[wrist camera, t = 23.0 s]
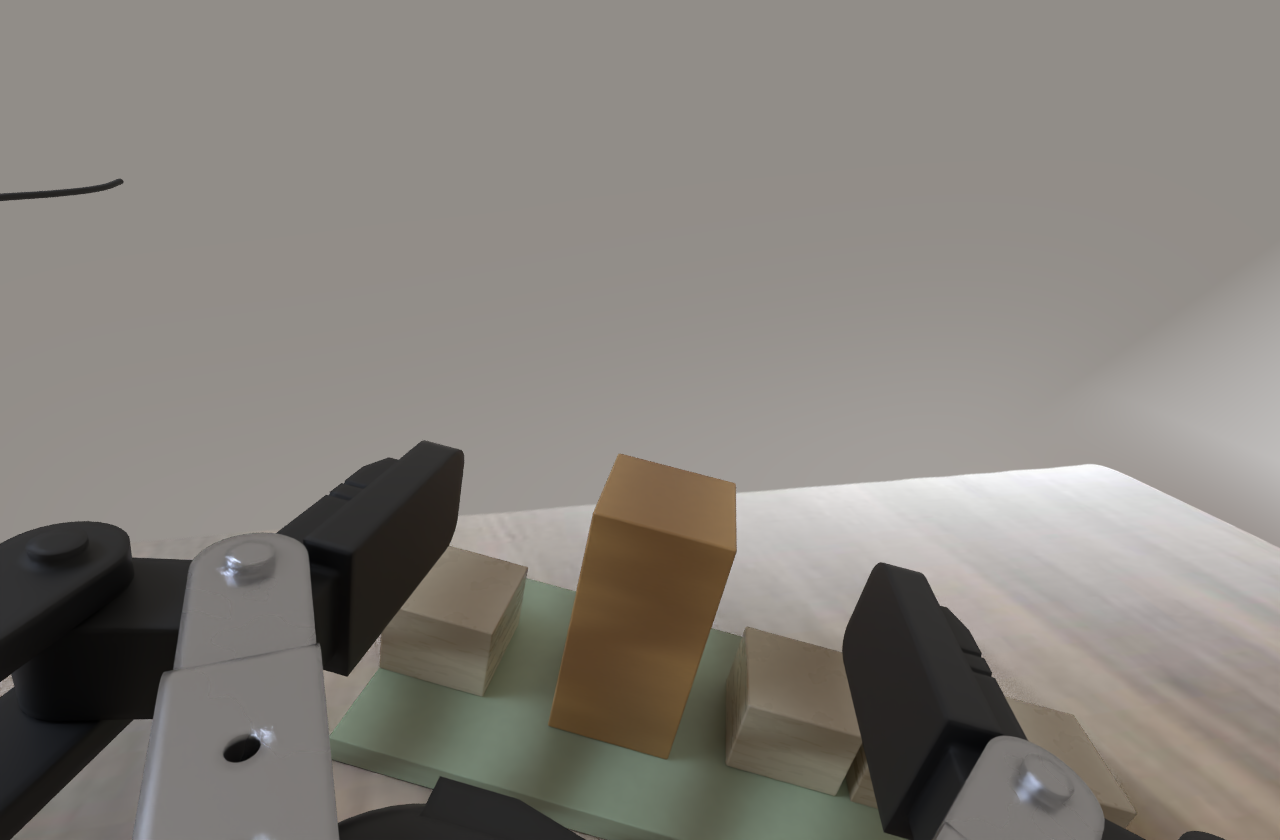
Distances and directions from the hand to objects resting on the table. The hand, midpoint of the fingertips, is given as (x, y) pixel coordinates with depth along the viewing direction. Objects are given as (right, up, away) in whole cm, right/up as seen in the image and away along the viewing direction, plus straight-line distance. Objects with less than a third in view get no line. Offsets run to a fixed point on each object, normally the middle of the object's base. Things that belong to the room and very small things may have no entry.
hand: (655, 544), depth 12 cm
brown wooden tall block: (-1, -8, +12) cm, 14 cm away
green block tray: (+3, -10, +12) cm, 16 cm away
